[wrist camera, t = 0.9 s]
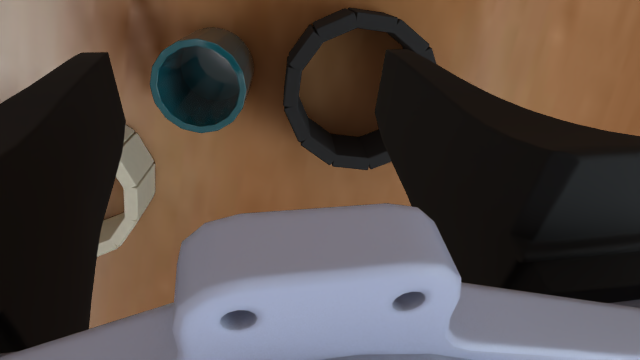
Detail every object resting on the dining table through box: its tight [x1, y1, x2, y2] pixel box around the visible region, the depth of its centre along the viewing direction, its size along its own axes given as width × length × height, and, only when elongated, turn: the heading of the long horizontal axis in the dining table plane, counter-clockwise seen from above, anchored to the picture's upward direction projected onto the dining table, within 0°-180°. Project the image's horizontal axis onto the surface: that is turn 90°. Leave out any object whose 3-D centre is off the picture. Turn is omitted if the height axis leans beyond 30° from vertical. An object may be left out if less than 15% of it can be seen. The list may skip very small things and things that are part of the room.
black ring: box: [283, 8, 436, 170], centre depth 27 cm, size 9×9×4 cm
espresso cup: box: [150, 27, 254, 133], centre depth 26 cm, size 5×5×6 cm
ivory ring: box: [97, 125, 155, 257], centre depth 29 cm, size 9×9×4 cm
